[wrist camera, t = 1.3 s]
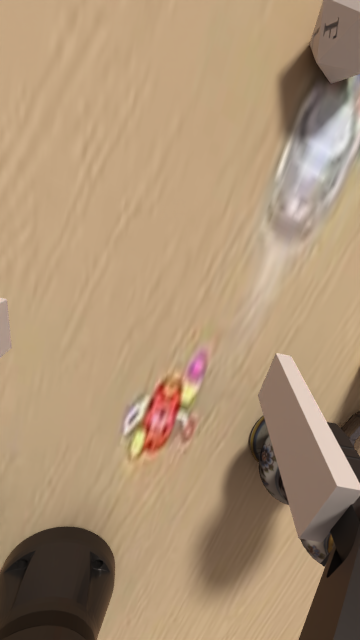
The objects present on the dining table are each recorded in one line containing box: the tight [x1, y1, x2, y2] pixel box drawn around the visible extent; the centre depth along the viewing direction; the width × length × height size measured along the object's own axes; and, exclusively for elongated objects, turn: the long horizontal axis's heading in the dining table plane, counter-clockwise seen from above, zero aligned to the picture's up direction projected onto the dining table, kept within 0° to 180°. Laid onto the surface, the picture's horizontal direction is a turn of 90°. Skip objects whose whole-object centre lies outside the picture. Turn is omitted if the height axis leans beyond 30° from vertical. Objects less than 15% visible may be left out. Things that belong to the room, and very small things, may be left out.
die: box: [310, 0, 360, 84], centre depth 31 cm, size 8×9×10 cm
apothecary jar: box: [250, 415, 335, 566], centre depth 33 cm, size 12×12×18 cm
